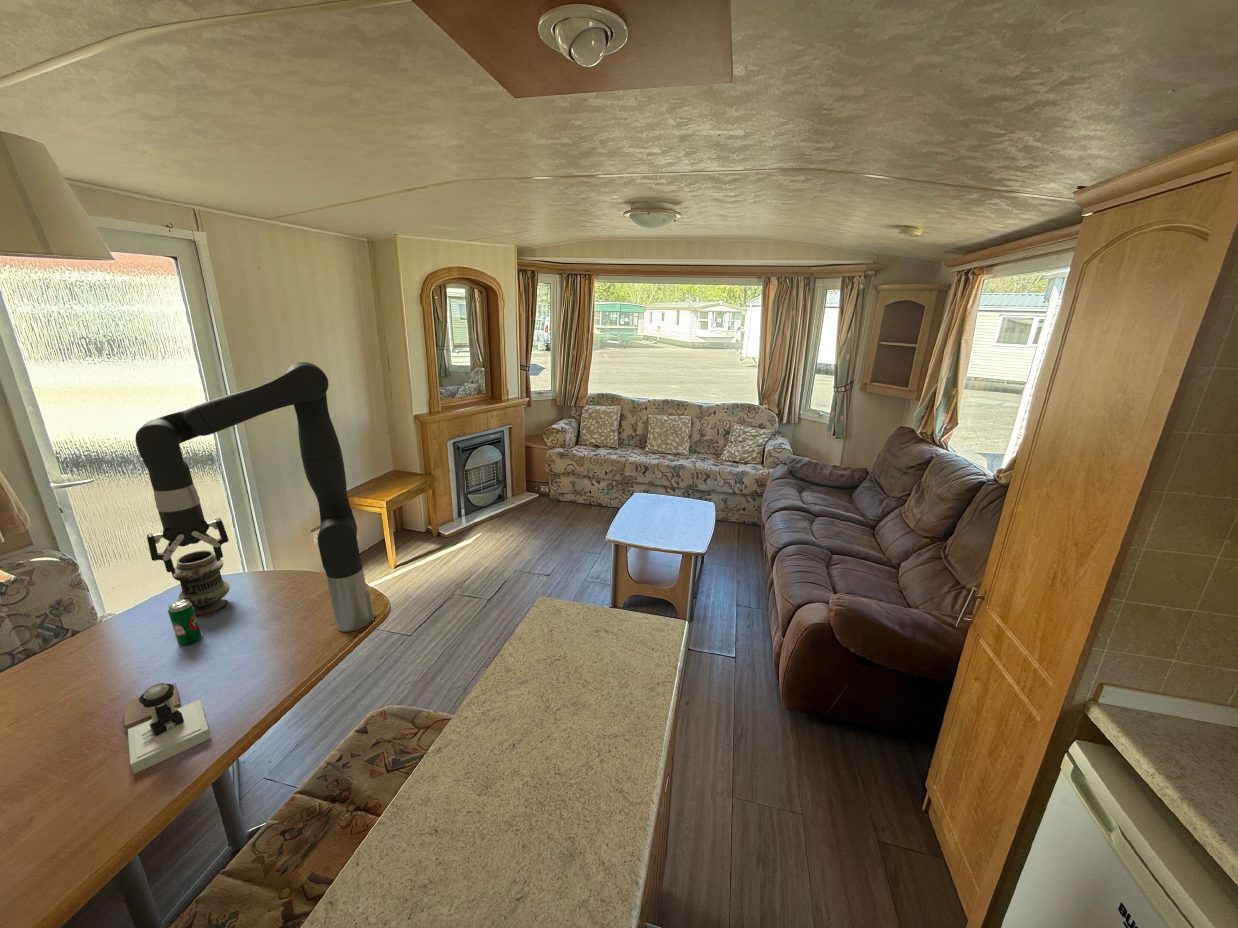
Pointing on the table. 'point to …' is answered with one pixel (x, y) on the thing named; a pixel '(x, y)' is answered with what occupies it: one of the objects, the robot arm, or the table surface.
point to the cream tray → (167, 738)
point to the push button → (161, 709)
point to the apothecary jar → (202, 582)
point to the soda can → (184, 622)
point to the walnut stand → (143, 710)
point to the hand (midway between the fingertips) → (196, 566)
